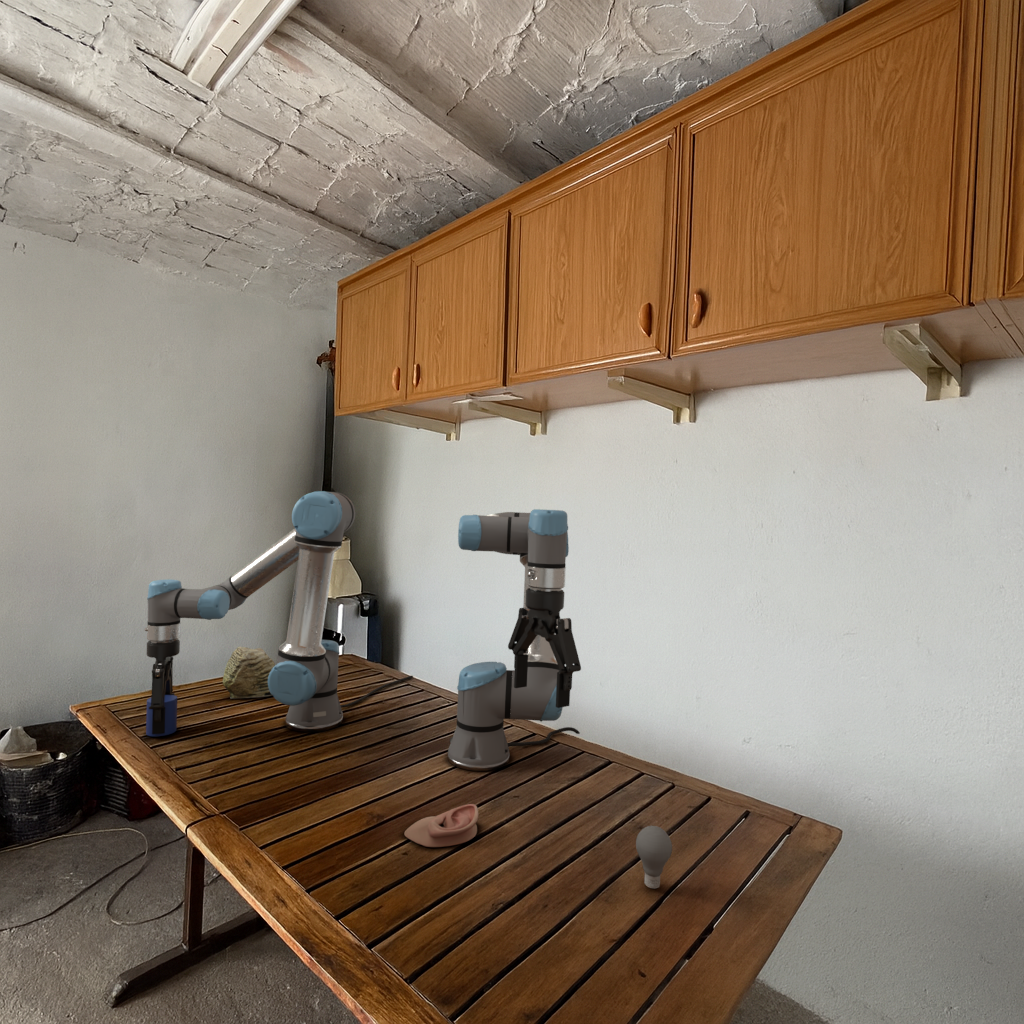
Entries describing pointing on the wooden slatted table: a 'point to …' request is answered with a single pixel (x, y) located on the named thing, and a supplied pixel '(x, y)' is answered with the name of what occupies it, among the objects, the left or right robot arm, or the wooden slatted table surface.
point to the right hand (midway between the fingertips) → (540, 696)
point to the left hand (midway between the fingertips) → (161, 727)
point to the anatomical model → (445, 827)
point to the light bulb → (653, 853)
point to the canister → (170, 716)
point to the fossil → (248, 673)
